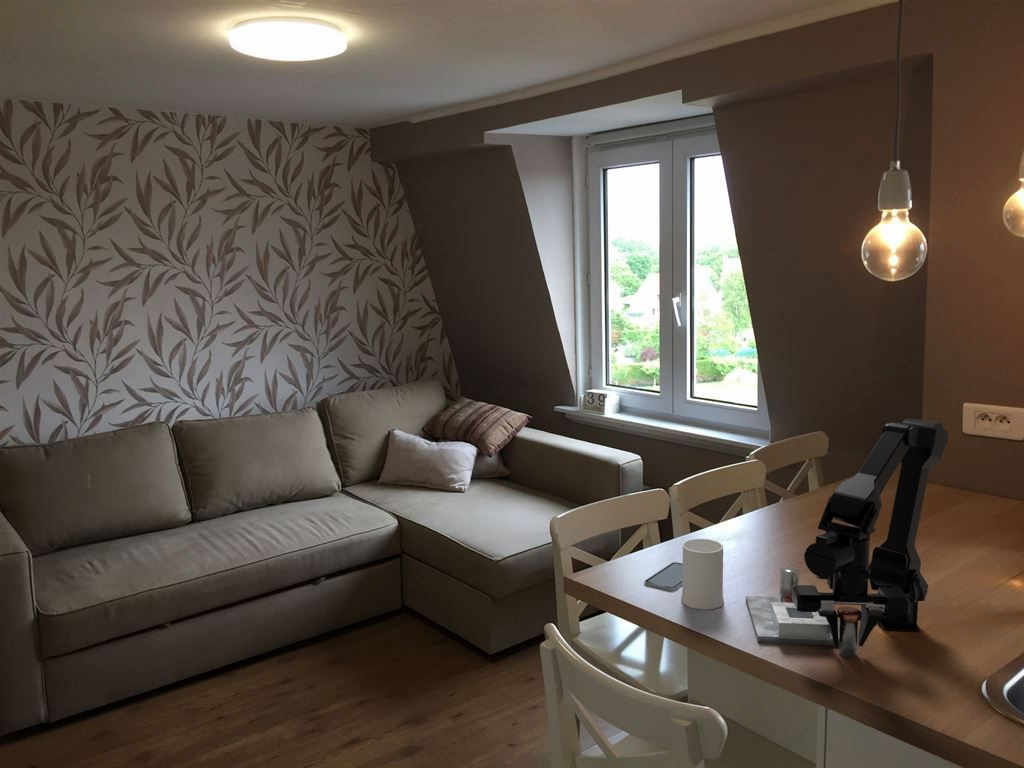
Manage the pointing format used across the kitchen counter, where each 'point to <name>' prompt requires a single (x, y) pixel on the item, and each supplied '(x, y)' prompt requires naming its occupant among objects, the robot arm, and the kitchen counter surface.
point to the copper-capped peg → (848, 631)
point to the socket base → (787, 617)
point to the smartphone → (667, 578)
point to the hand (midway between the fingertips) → (847, 645)
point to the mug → (702, 574)
